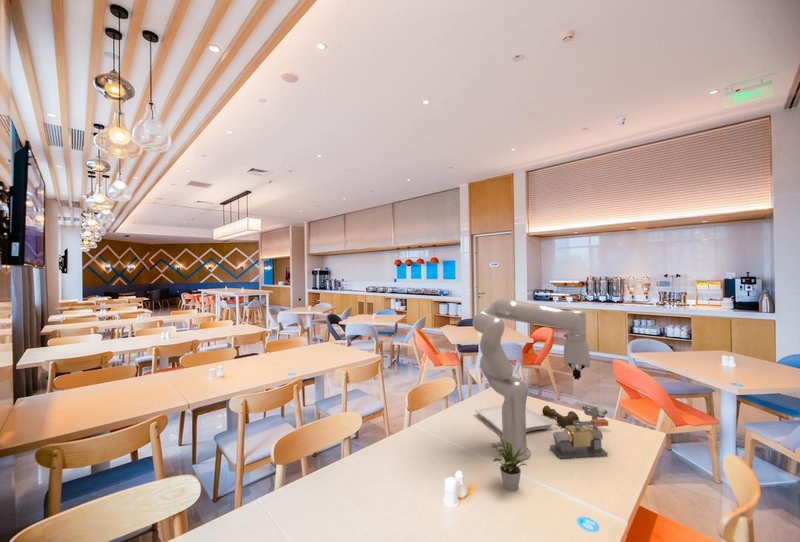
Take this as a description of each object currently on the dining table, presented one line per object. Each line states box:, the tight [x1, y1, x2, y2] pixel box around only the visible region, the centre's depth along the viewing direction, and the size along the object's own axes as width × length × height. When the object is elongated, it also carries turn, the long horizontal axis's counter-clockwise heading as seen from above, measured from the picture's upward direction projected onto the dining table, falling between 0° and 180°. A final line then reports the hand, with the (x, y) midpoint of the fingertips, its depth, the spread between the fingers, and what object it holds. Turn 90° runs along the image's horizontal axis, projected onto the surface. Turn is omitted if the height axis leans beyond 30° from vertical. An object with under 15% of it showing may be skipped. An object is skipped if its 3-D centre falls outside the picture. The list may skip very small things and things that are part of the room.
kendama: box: [542, 405, 580, 429], centre depth 170 cm, size 6×10×20 cm
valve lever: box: [572, 418, 609, 427], centre depth 142 cm, size 14×3×2 cm, turn 93°
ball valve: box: [549, 424, 608, 460], centre depth 141 cm, size 20×8×11 cm, turn 94°
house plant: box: [488, 434, 528, 492], centre depth 122 cm, size 14×14×16 cm
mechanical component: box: [581, 404, 608, 430], centre depth 162 cm, size 3×10×10 cm, turn 53°
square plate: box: [474, 404, 554, 434], centre depth 170 cm, size 27×27×4 cm
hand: (576, 378), depth 152 cm, fingers closed
